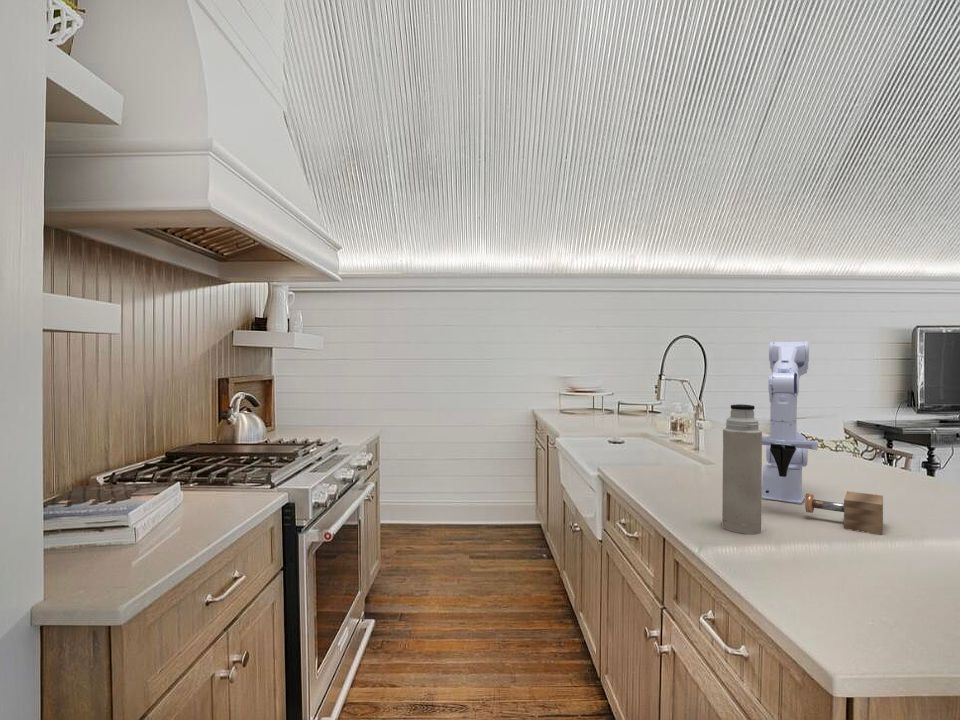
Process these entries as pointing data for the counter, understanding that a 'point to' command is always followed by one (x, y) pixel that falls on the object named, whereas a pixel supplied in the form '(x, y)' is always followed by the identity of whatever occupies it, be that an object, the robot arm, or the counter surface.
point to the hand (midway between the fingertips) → (782, 476)
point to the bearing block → (863, 512)
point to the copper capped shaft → (821, 504)
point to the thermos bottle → (742, 471)
